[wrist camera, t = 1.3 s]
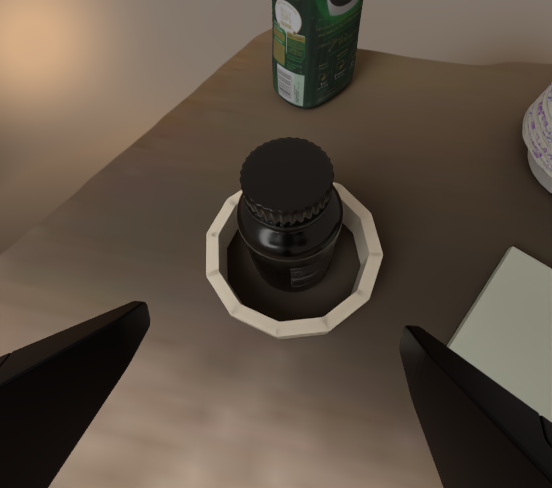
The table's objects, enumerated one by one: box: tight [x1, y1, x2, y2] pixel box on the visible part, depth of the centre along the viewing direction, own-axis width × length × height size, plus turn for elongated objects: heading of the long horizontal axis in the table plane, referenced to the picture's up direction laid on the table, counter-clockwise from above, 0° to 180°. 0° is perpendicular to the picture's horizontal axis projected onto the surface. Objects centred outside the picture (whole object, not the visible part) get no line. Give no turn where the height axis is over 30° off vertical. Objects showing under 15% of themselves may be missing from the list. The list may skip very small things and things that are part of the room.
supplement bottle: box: [236, 137, 343, 292], centre depth 18 cm, size 7×7×12 cm
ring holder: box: [206, 182, 383, 339], centre depth 22 cm, size 14×14×3 cm
